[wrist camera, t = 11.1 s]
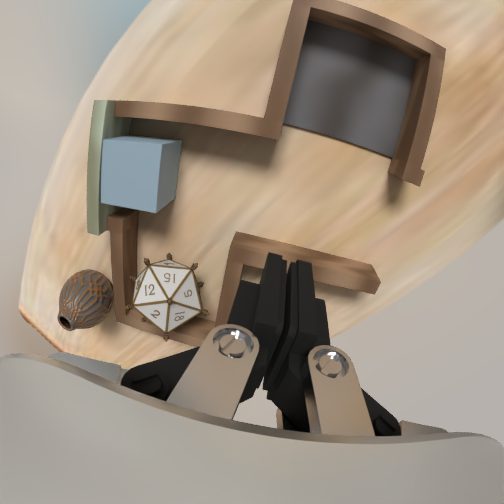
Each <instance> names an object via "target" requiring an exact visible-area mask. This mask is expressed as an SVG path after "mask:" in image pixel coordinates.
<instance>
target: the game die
mask: <svg viewBox="0 0 504 504" xmlns="http://www.w3.org/2000/svg"><path fill="white" fill-rule="evenodd" d="M171 256H172V255H171V254H170V253H168V254H167V260H163V261H160V262H156V263H152V264H150V261H149V259H146V258H144V263H145V264H146V265H147V267H146V268H145V269H144V270H143V271H142V272H141V274H140V275H139V276H138V277H137V278H136V277H135V276H130V278H131V280H133V281H135V287H134V294H133V302H132V304H127V306H126V307H125V309H128V310H129V309H132V307H133V308H134V309H136V310H137V311H138V312H139V313H140V314H141V315H142V316H144V317H143V318H142V322H145V321H146V319H147V320H148V321H150V322H151V323H152V324H153V325H155V326H156V327H157V328H159V329H160V330H161V331H162V332H164V333H165V334H164V338H163V339H165V341H166V342H167V340H168V339H169V338H168V337H169V336H168V333H169V332H171V331H173V330H174V329H176V328H177V327H179V326H181V325H182V324H184V325H187V323H188V322H187V321H188V320H190V319H192V318H193V317H195V316H196V315H198V314H200V313H203V314H204V315H205V316H206V315H210V314H209V312H208V310H203V309H202V304H201V298H200V292H199V287H201V286H203V284H204V283H202V282H199V283H197V280H196V277H195V274H194V271H193V270H195V269H196V268H197V265H198V263H195V264H194V263H193V265H192V267H191V268H189V267H187V266H184V265H182V264H180V263H177V262H175V261H172V260H170V259H171Z"/></svg>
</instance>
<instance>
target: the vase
mask: <svg viewBox="0 0 504 504" xmlns="http://www.w3.org/2000/svg"><path fill="white" fill-rule="evenodd" d="M112 304H113V289H112V286H111V284H110V282H109V280H108V279H107V278H106V277H105V276H104V275H103V274H101V273H100V272H98V271H95V270H82V271H80V272H77V273H75V274H74V275H73V276H71V277H70V278H69V279H68V280H67V281H66V283H65V284H64V286H63V288H62V290H61V293H60V298H59V314H58V321H59V323H60V325H61V326H62V327H63V328H64V329H66V330H68V331H72V330H75V329H86V328H91V327H94V326H96V325H97V324H99V323H100V322H102V321H103V320H104V319H105V317H106V316H107V315H108V313H109V311H110V309H111V307H112Z"/></svg>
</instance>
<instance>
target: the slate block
mask: <svg viewBox="0 0 504 504" xmlns="http://www.w3.org/2000/svg"><path fill="white" fill-rule="evenodd" d="M181 146H182V140H177V139H168V138H159V137H148V136H136V135H126V136H120V137H115V138H109V139H104V140H103V148H102V167H101V203H105V204H110V205H115V206H121V207H126V208H131V209H137V210H142V211H147V212H152V213H157V212H158V211H159V210H161V209H162V208H163V207H165V206H166V205H167V204H168V203H170V202H171V201H172V200H174V199H175V197H176V187H177V178H178V169H179V161H180V153H181Z"/></svg>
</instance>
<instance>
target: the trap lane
mask: <svg viewBox="0 0 504 504" xmlns="http://www.w3.org/2000/svg"><path fill="white" fill-rule="evenodd" d="M445 51H446V49H445V48H443V47H442V46H440V45H438V44H437V43H435V42H433V41H431V40H430V39H428V38H426V37H424V36H422V35H420V34H418V33H417V32H415V31H413V30H411V29H409V28H407V27H404V26H402V25H400V24H398V23H396V22H394V21H391V20H389V19H387V18H384V17H382V16H380V15H377V14H374V13H372V12H369V11H367V10H364V9H361V8H358V7H355V6H353V5H350V4H346V3H343V2H340V1H337V0H293V3H292V7H291V11H290V15H289V19H288V23H287V27H286V31H285V35H284V39H283V43H282V47H281V51H280V55H279V59H278V63H277V67H276V71H275V75H274V79H273V83H272V87H271V92H270V96H269V100H268V104H267V109H266V113H265V117H264V118H260V117H255V116H250V115H245V114H240V113H234V112H228V111H222V110H216V109H209V108H202V107H195V106H187V105H177V104H167V103H155V102H139V101H112V100H94V105H93V112H92V120H91V129H90V139H89V151H88V167H87V230H88V233H91V234H95V235H98V236H99V235H100V234H102V233H103V232H104V231H106V230H109V231H110V234H111V264H112V280H113V292H114V303H115V312H116V320H117V321H118V322H120V323H123V324H126V325H129V326H132V327H135V328H137V329H140V330H143V331H146V332H150V333H153V334H156V335H159V336H162V337H164V334H165V333H164V332H162V331H161V330H160V329H159V328H157V327H156V326H155V325H153V324H152V323H151V322H150V321H148V320H147V319H146V321H145V322H142V318H143V317H144V316H142V315H141V314H140V313H139V312H138V311H137V310H136V309H134V308H133V307H132V309H129V310H128V309H125V307H126V306H127V304H132V302H133V294H134V287H135V281H133V280H131V278H130V276H135V277H136V278H137V226H138V210H137V209H131V208H126V207H121V206H115V205H110V204H105V203H101V167H102V148H103V140H104V139H109V138H115V137H120V136H126V135H129V132H130V125H131V118H132V117H133V118H146V119H156V120H166V121H174V122H182V123H190V124H197V125H203V126H209V127H215V128H221V129H227V130H232V131H238V132H243V133H248V134H252V135H257V136H262V137H266V138H270V139H275V140H279V137H280V133H281V129H282V125H283V123H284V124H288V125H292V126H296V127H300V128H304V129H308V130H311V131H315V132H318V133H322V134H325V135H328V136H332V137H335V138H338V139H341V140H344V141H347V142H350V143H353V144H356V145H359V146H362V147H365V148H368V149H370V150H373V151H376V152H379V153H381V154H384V155H386V156H389V157H391V158H392V161H391V164H390V167H389V170H388V172H389V173H391V174H393V175H395V176H397V177H398V178H400V179H402V180H405V181H407V182H410V183H412V184H414V185H417V186H419V187H420V184H421V181H422V178H423V175H424V172H425V171H423V170H421V166H422V162H423V159H424V155H425V152H426V148H427V145H428V141H429V137H430V133H431V129H432V125H433V121H434V116H435V112H436V107H437V102H438V97H439V92H440V86H441V80H442V74H443V67H444V60H445ZM268 252H271V253H275V254H279V255H283V257H282V259H283V260H287V271H288V268H289V265H290V263H291V262H295V263H296V261H297V259H298V260H302V261H306V262H310V263H312V271H313V280H314V281H318V282H322V283H326V284H331V285H335V286H339V287H344V288H348V289H353V290H357V291H362V292H366V293H371V294H375V293H376V291H377V289H378V287H379V285H380V283H381V281H380V279H379V277H378V276H377V274H376V272H375V270H374V268H373V266H372V265H370V264H366V263H362V262H358V261H354V260H350V259H346V258H342V257H338V256H334V255H330V254H327V253H323V252H319V251H315V250H311V249H307V248H302V247H298V246H294V245H290V244H286V243H282V242H278V241H274V240H270V239H266V238H262V237H257V236H253V235H249V234H245V233H241V232H236V233H235V236H234V238H233V241H232V243H231V245H230V250H229V255H228V260H227V265H226V270H225V275H224V281H223V286H222V291H221V296H220V302H219V307H218V312H217V318H216V322H213V321H209V320H205V319H202V318H198V317H193V318H192V319H190V320H188V321H187V322H188V323H187V325H184V324H182V325H181V326H179V327H177V328H176V329H174V330H173V331H171V332H169V333H168V336H169V337H168V338H169V339H172V340H175V341H179V342H182V343H186V344H189V345H193V346H197V347H199V346H201V345H202V344H203V342H204V340H205V339H206V337H207V335H208V334H209V333H210V331H211V330H212V329H213V328H215V327H217V326H219V325H224V324H227V322H228V318H229V315H230V312H231V309H232V305H233V302H234V299H235V296H236V292H237V289H238V286H239V283H240V279H241V274H242V270H243V266H244V264H245V265H249V266H253V267H258V268H262V269H264V266H265V262H266V259H267V255H268Z"/></svg>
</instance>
